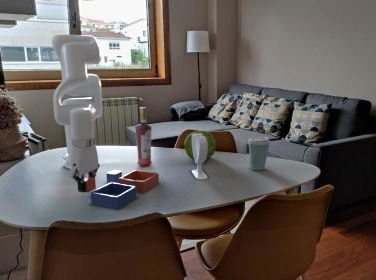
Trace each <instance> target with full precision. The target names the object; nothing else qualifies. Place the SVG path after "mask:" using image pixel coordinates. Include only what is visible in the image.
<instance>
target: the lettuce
mask: <svg viewBox="0 0 376 280" xmlns="http://www.w3.org/2000/svg"><path fill="white" fill-rule="evenodd" d="M199 133H202V135H203V136H205V137H206V139H207V143H208V151H207V158H206V160H207V159H210V158H212V156H213V155H214V154H215V152H216V149H217V148H216V147H217V145H216V140H215V137H214V136H213V135H212V134H211V132H209V131H206V130H195V131H193V132H191V133H190V134H188V135H187V136H186V138H185V140H184V150H185V153H186V155H187V156H188V158H190V159H192V160H194V155H193V150H192V134H199Z"/></svg>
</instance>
